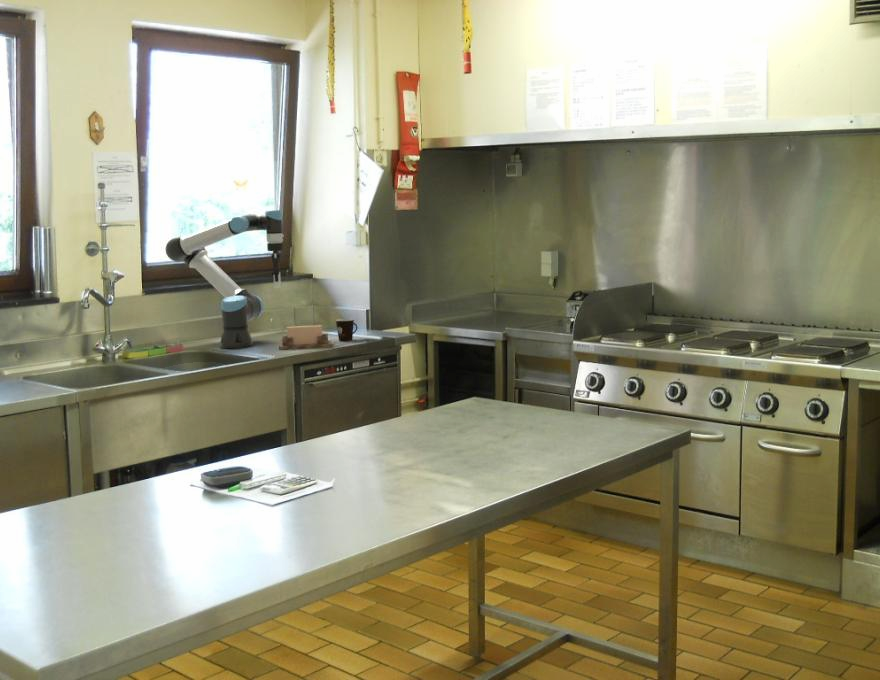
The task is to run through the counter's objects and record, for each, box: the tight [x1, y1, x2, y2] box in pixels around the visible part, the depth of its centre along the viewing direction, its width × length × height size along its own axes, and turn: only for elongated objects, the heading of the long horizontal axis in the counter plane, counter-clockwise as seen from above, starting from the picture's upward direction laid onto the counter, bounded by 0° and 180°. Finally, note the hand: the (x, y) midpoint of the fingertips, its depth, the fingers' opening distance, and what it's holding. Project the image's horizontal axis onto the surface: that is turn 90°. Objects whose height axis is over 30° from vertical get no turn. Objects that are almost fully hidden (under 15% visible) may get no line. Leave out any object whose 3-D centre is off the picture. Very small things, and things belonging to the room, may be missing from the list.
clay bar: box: [286, 324, 323, 345], centre depth 478 cm, size 16×3×8 cm, turn 97°
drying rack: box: [278, 333, 333, 351], centre depth 478 cm, size 24×12×5 cm, turn 97°
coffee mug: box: [335, 318, 358, 342], centre depth 492 cm, size 12×9×10 cm
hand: (277, 287), depth 490 cm, fingers open, 13 cm apart
